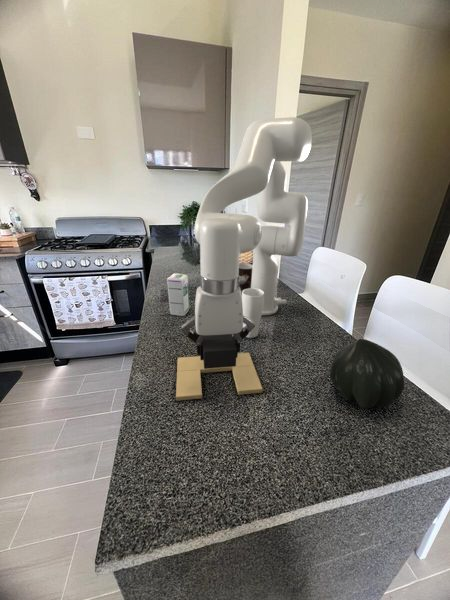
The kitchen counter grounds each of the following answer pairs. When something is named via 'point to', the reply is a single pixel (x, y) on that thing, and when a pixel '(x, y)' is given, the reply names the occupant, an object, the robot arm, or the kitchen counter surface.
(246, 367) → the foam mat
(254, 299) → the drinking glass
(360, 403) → the squash
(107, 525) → the kitchen counter surface
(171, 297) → the syrup box
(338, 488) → the kitchen counter surface
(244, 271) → the coffee mug
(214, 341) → the black block
